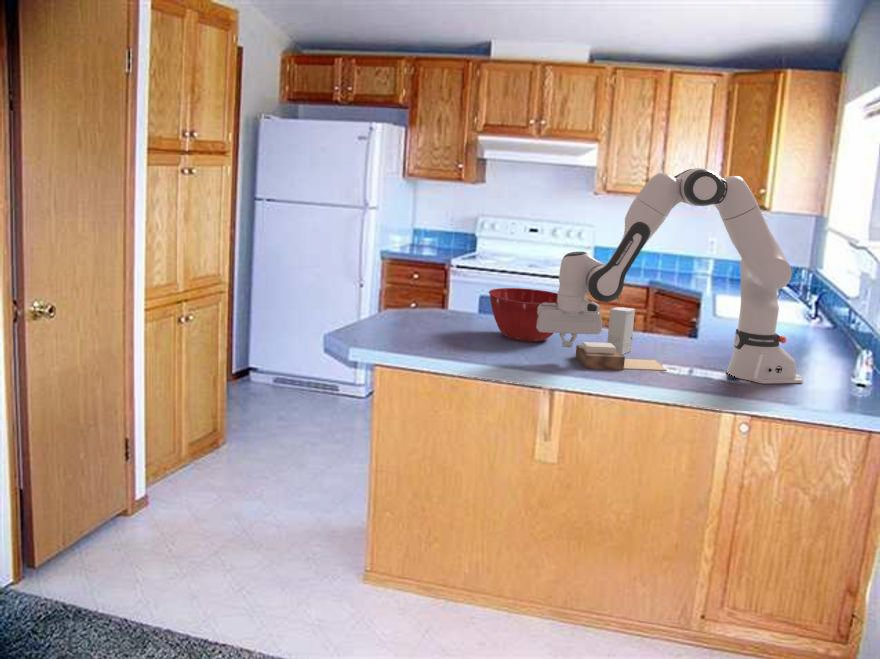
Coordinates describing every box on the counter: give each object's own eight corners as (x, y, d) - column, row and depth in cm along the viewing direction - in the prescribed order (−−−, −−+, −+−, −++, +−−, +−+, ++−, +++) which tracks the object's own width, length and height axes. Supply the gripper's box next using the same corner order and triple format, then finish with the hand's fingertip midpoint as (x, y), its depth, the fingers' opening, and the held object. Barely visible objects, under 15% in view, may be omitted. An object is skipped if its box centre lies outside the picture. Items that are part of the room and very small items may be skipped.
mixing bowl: (564, 332, 319) (568, 291, 316) (568, 350, 291) (572, 305, 288) (487, 326, 322) (490, 285, 318) (483, 343, 294) (486, 298, 291)
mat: (654, 361, 284) (654, 360, 284) (666, 370, 273) (666, 369, 273) (612, 359, 283) (612, 358, 283) (622, 368, 271) (622, 367, 271)
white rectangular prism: (610, 349, 279) (610, 343, 279) (615, 353, 273) (615, 347, 273) (582, 348, 278) (583, 341, 278) (586, 352, 273) (587, 346, 272)
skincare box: (622, 355, 289) (626, 311, 286) (605, 352, 292) (609, 308, 289) (631, 351, 296) (636, 308, 293) (614, 348, 299) (619, 305, 296)
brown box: (611, 358, 284) (613, 346, 283) (623, 369, 270) (624, 357, 270) (575, 356, 283) (576, 344, 282) (585, 368, 270) (586, 355, 269)
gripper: (539, 304, 268) (536, 347, 271) (605, 307, 270) (601, 350, 273) (536, 300, 274) (532, 343, 277) (600, 303, 276) (596, 345, 279)
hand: (567, 346), depth 275 cm, fingers closed
